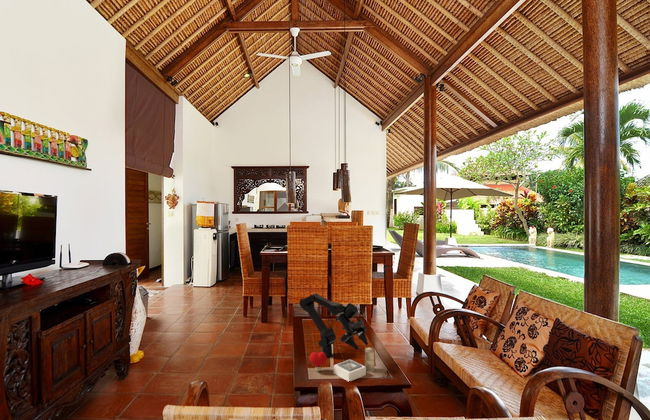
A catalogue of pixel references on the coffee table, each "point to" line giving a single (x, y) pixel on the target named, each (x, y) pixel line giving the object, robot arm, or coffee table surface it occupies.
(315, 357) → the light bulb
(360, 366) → the socket block
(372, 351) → the beech pin
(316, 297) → the robot arm
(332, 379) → the coffee table surface
